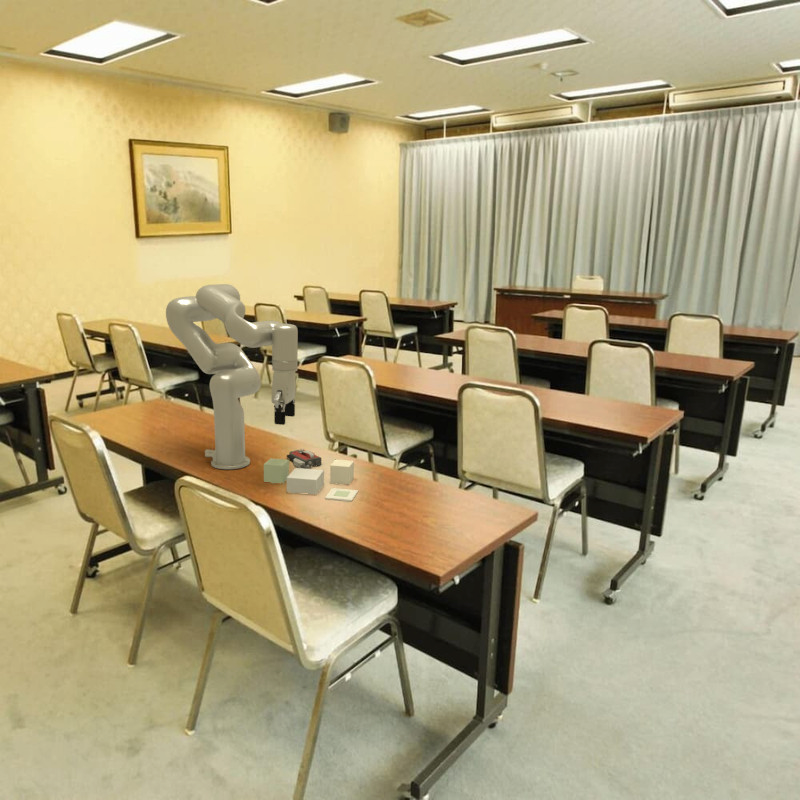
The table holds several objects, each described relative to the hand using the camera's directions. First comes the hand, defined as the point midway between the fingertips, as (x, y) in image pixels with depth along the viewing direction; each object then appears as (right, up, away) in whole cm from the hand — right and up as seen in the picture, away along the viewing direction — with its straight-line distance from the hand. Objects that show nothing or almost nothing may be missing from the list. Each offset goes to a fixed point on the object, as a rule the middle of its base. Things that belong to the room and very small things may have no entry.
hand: (284, 420), depth 201 cm
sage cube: (-3, -19, +3) cm, 20 cm away
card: (+18, -22, -8) cm, 30 cm away
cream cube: (+17, -19, +4) cm, 26 cm away
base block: (+7, -21, -3) cm, 22 cm away
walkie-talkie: (+4, -16, +18) cm, 25 cm away
